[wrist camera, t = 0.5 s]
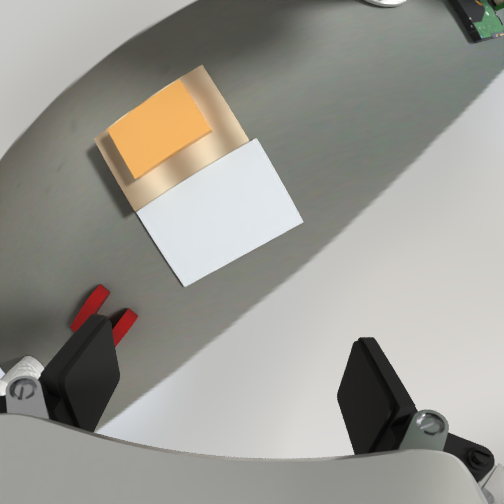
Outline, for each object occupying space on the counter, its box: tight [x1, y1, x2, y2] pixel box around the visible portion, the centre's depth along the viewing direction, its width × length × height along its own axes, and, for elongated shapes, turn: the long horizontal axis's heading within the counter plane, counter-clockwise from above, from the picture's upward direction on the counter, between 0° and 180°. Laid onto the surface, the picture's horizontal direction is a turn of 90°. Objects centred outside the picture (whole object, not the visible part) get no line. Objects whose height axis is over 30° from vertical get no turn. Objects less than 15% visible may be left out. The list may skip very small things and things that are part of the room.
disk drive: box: [449, 0, 504, 43], centre depth 26 cm, size 10×3×15 cm
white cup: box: [0, 356, 44, 396], centre depth 42 cm, size 8×8×10 cm
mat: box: [136, 138, 303, 287], centre depth 38 cm, size 18×12×1 cm, turn 120°
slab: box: [108, 79, 213, 179], centre depth 31 cm, size 10×7×2 cm
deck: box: [94, 65, 249, 211], centre depth 34 cm, size 16×11×3 cm
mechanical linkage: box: [70, 284, 138, 347], centre depth 41 cm, size 16×7×5 cm, turn 137°
